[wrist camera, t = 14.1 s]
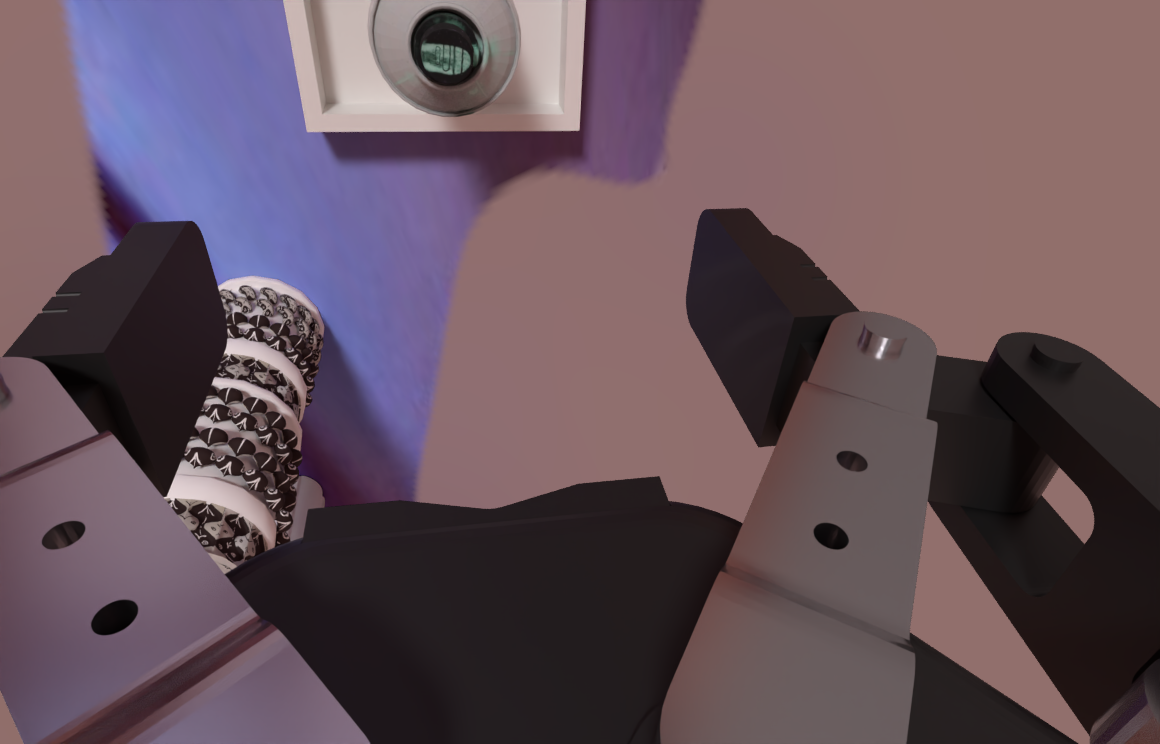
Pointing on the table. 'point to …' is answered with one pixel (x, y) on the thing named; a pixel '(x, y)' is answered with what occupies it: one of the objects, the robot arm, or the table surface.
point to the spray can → (445, 51)
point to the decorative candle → (251, 423)
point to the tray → (367, 104)
